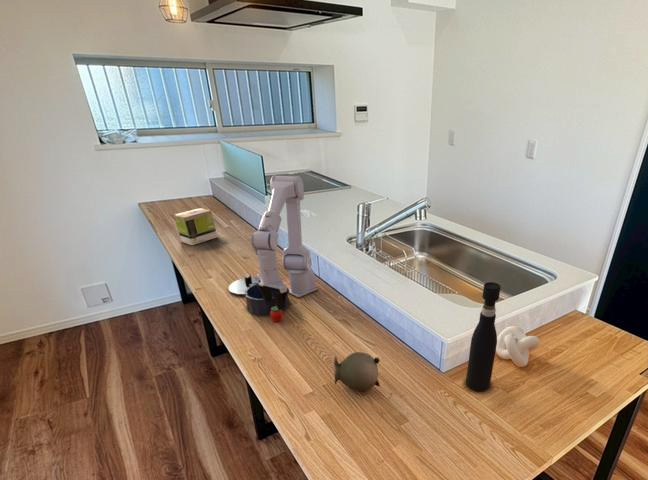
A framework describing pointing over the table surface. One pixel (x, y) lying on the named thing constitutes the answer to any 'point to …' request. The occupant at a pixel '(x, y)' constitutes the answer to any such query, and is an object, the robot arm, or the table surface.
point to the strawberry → (276, 314)
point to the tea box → (195, 226)
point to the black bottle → (483, 342)
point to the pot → (260, 301)
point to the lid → (242, 285)
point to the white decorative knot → (516, 345)
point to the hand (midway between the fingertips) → (274, 304)
